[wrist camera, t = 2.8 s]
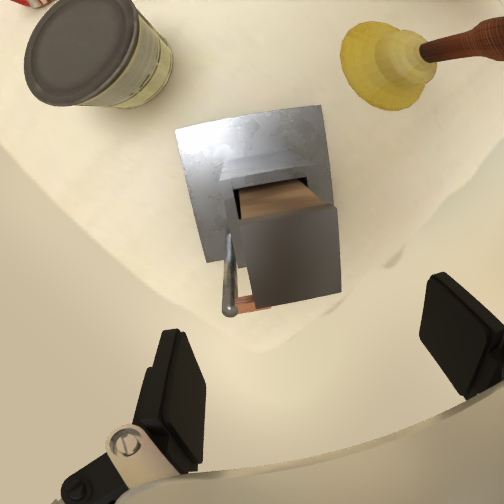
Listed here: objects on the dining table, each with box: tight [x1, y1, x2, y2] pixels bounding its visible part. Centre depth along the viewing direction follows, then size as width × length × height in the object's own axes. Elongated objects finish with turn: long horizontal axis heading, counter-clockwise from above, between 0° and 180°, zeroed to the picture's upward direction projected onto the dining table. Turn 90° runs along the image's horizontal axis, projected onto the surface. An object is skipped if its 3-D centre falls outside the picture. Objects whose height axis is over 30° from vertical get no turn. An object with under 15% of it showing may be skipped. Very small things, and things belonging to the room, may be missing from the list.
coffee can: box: [24, 0, 173, 109], centre depth 21 cm, size 10×10×14 cm
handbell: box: [340, 17, 504, 111], centre depth 17 cm, size 12×12×25 cm
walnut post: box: [238, 178, 341, 309], centre depth 24 cm, size 5×5×19 cm
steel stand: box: [175, 105, 334, 317], centre depth 27 cm, size 16×16×16 cm
